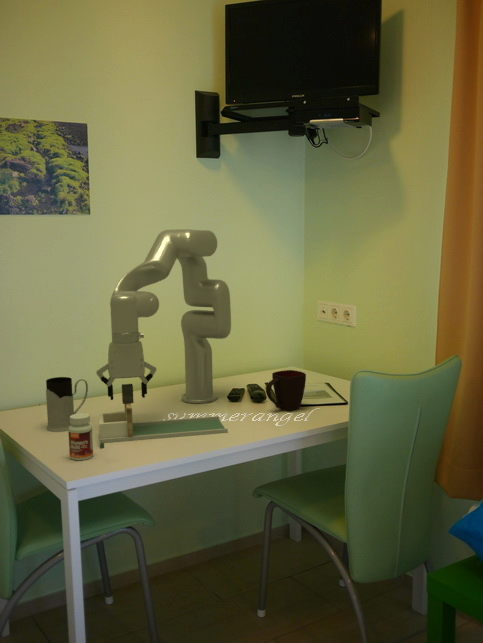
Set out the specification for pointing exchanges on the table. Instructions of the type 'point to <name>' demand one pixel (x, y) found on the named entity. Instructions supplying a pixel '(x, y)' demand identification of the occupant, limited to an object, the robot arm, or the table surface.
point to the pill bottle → (80, 437)
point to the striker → (128, 405)
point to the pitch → (155, 428)
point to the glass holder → (60, 403)
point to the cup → (287, 389)
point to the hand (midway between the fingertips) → (127, 397)
